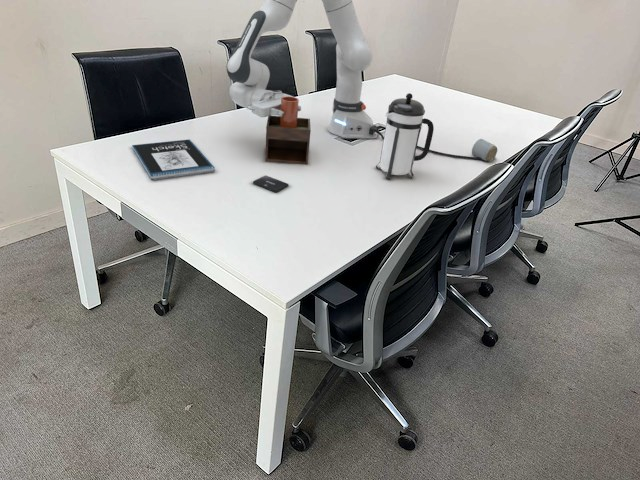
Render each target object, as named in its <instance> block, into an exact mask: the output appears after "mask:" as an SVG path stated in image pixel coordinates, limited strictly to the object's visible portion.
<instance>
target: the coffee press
mask: <svg viewBox="0 0 640 480" xmlns="http://www.w3.org/2000/svg"><path fill="white" fill-rule="evenodd" d="M425 114H426V109H425V106H424V104H422V102H420V101H418V100H416V99H413V94H412V93H411V92H409V93H407V94H406V95H405V97H404V98H402V97H401V98H396V99H394V100H392V101H391V102H390V103H389V104H388V109H387V111H386V112H385V115H384V117H385V118H386V124H385V129H384V135H383V137H384V140H383V139H382V140H383V141H382V146H381V153H380V158H379V163H378V164H379V166H378V164H376V165H375V169H376V170H379V169H381V170H382V171H383V172H384V173H386V176H385V180H388V181H389V180H391V178H392V176H404V175H407V177H408V179H413V178H414V176H415V174H414V173H413V166H414V162H417V161H421V160H423V159H425V158H426V157H427V155H428V154H429V152H428V151H429V150H430V148H431V144H432V139H433V135H434V130H435V129H434V122H432V121H431V120H430V119H428V118H425V117H424V115H425ZM423 124H424V125H427V134H426V137H425V143H424V146H423V148H424V150H422V152H421V153H420V154H419V155H416V152H417V149H418V148H417V146H418V144H419V138H420V135H421V131H420V129H421V130H422V127H423V126H422V125H423ZM421 126H422V127H421ZM410 174H411V175H410Z"/></svg>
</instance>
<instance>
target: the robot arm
mask: <svg viewBox="0 0 640 480" xmlns="http://www.w3.org/2000/svg"><path fill="white" fill-rule="evenodd" d="M297 2H298V0H263V3H262V5H261V7H260V8H259V9H258V10H256V11H255V12H254V13H252V15H251V16H250V18H249V20H248V22H247V24H246V26H245V28H244V30H243V32H242V34H241V36H240V38H239V41H238V42H237V45H236V47H235V49H234V51H233V52H232V53H231V55H230V56H229V57H228V59H227V62H226V67H225V68H226V73H227V76H228V78H229V79H230V80H231V81H232V82H233V83H232V84H231V85H230V86H229V97H230V99H231V101H232V102H233V103H235V104H236V105H238V106H239V107H242V108H245V109H247V110H249V111H251V113H252V114H253V115H256V116H257V117H260V118H268V116H284V111H282V110H281V98H282V97H295V96H293V95H290V94H288V93H284V92H282V90H276V89H275V90H271V89H267V88H268V84H269V82H270V78H271V70H270V68H269V66H268V65H266V64H265V63H263V62H261V61H259V60H256V59H254V58H252V54H253V52H254V50H255V48H256V46H257V44H258V42H259V40H260V38H261V37H262V35H263V34H265V33H267V32H279V31H281V30H283V29H284V28H287V26H288V24H289V23H290V21H291V19H292V16H293V12H294V10H295V7H296V4H297ZM321 2H322V4H323V7H324V11H325V14H326V17H327V21H328V24H329V27H330V30H331V33H332V34H333V36H334V38H335V41H336V43H337V44H336V46H335V53H336V87H335V95H334V98H333V101H332V115H331V119H330V122H329V126H328V128H327V131H328V132H329V133H330V134H333V135H335V136H339V137H341V138H343V139H359V140H360V139H363V140H364V139H369V140H371V139H372V140H373V139H374V140H375V139H377V138H378V135H379V136H380V137H381V139H382V140H384V135H383V133H381V132H380V131H379V130H377V125H376V124H374V120H373V118H372V117H371V116H370V115H369V114H368V113H367V112H365V111H366V108H367V106H366V104H365V103H364V102H363V101H362V100H361V96H362V89H363V77H362V72H365V71H366V70H367V69H368V68H370V66H371V64H372V61H373V55H372V52H371V50H370V47H369V45H368V42H367V40H366V36H365V34H364V32H363V29H362V27H361V25H360V22H359V19H358V15H357V13H356V9H355V6H354V2H353V0H321ZM295 98H297V97H295ZM301 111H302V106H301V105H298V112H301ZM416 149H418V150H422V151H423V150H424V146H419V145H417V148H416ZM428 153H432V154H436V155H440V156H445V157H451V158H458V159H467V160H468V159H469V160H475V161H476V160H477V161H484V160H483V159H481V158H479V157H475V156H468V155H458V154H451V153H446V152H440V151H436V150H433V149H429V151H428Z"/></svg>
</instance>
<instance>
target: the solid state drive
mask: <svg viewBox="0 0 640 480" xmlns="http://www.w3.org/2000/svg"><path fill="white" fill-rule="evenodd" d="M252 184H254V185H256V186H259V187H261V188H264V189H266V190H269V191H271V192H273V193H279V192H280V191H281V190H283V189H285V188H287V187H289V183H287V182H285V181H281V180H279V179H277V178H273V177H271V176H269V175H265V174H264V175H262V176H261V177H259V178H257V179H255V180H253V181H252Z"/></svg>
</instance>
